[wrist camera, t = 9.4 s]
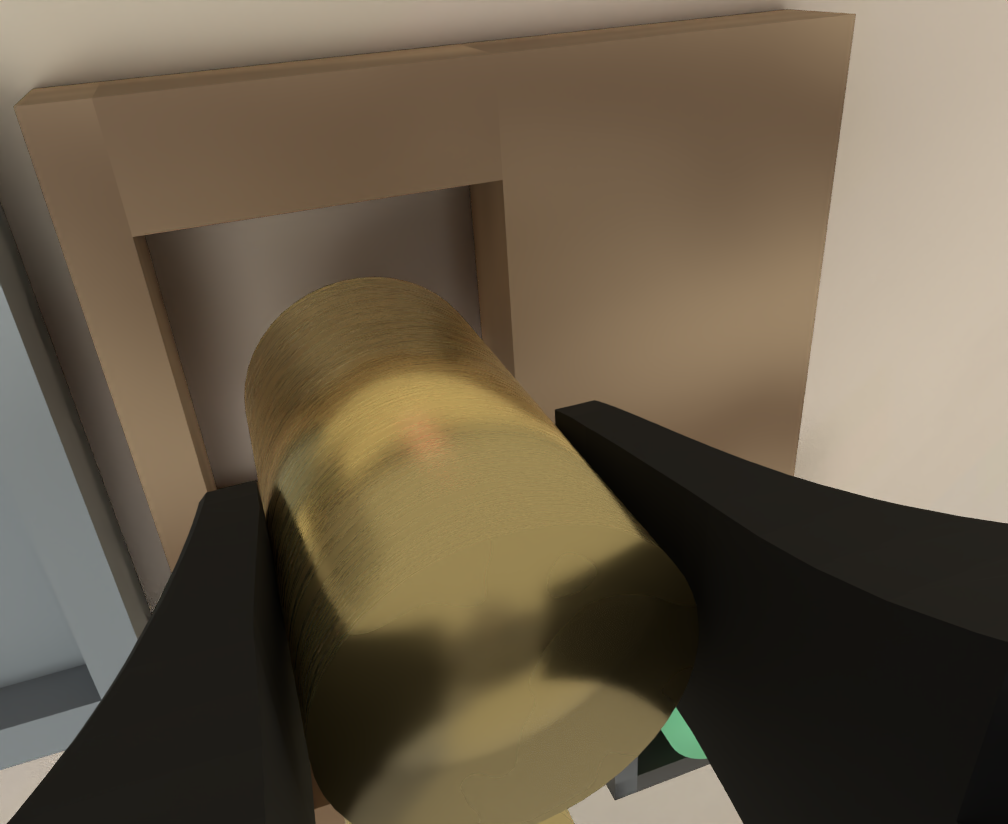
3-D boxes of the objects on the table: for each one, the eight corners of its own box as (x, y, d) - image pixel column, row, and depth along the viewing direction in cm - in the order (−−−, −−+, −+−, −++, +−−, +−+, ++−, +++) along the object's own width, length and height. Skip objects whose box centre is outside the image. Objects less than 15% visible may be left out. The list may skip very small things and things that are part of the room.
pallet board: (725, 652, 26) (808, 753, 22) (267, 810, 22) (285, 961, 18) (787, 9, 17) (941, 20, 13) (32, 89, 13) (-13, 130, 10)
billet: (484, 471, 15) (679, 775, 10) (263, 515, 14) (332, 893, 8) (480, 262, 13) (720, 485, 8) (224, 293, 12) (278, 584, 6)
